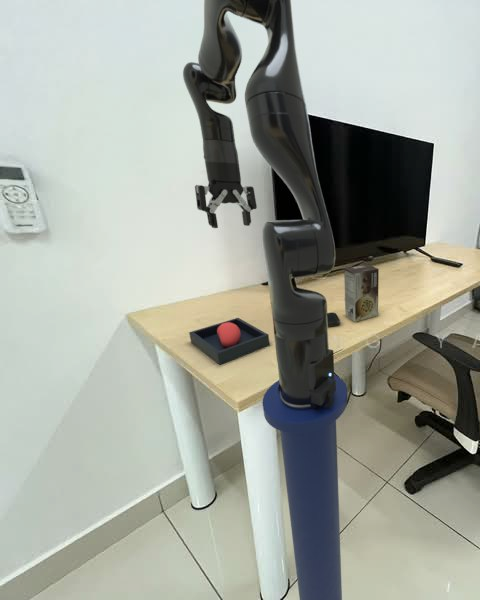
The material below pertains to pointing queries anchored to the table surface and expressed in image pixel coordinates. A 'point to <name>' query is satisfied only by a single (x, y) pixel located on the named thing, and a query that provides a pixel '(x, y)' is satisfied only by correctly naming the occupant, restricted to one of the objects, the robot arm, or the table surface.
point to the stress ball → (228, 334)
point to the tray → (248, 343)
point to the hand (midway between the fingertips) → (231, 226)
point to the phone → (333, 319)
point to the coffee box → (361, 292)
